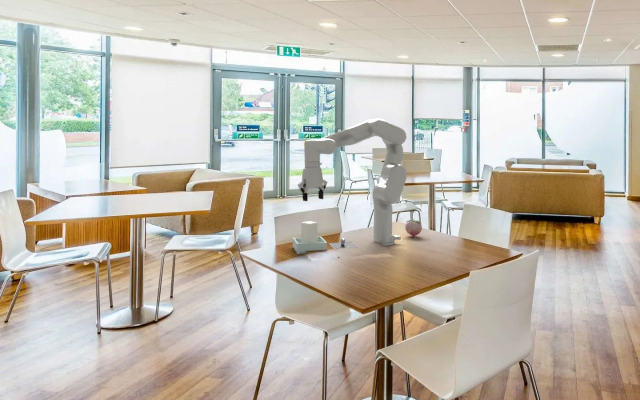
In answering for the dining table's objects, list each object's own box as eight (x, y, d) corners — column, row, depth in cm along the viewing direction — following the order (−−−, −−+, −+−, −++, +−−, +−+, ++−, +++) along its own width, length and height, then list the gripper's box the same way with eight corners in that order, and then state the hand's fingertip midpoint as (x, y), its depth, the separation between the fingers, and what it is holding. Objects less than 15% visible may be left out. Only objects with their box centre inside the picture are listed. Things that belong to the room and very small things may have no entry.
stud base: (351, 245, 259) (351, 235, 259) (357, 250, 248) (357, 240, 247) (328, 246, 257) (328, 236, 256) (333, 251, 245) (333, 241, 244)
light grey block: (309, 246, 253) (309, 221, 251) (317, 248, 249) (317, 222, 247) (301, 248, 249) (301, 222, 247) (309, 250, 245) (309, 223, 243)
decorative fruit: (423, 235, 283) (424, 218, 281) (420, 238, 275) (420, 220, 274) (407, 234, 287) (407, 216, 285) (403, 236, 279) (403, 219, 278)
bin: (320, 245, 257) (320, 236, 257) (327, 252, 243) (327, 242, 242) (292, 247, 254) (292, 237, 254) (297, 254, 240) (297, 243, 240)
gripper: (321, 163, 253) (322, 197, 255) (293, 165, 242) (294, 200, 245) (331, 164, 247) (331, 198, 249) (302, 166, 236) (303, 202, 239)
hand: (313, 199), depth 247 cm, fingers open, 9 cm apart
